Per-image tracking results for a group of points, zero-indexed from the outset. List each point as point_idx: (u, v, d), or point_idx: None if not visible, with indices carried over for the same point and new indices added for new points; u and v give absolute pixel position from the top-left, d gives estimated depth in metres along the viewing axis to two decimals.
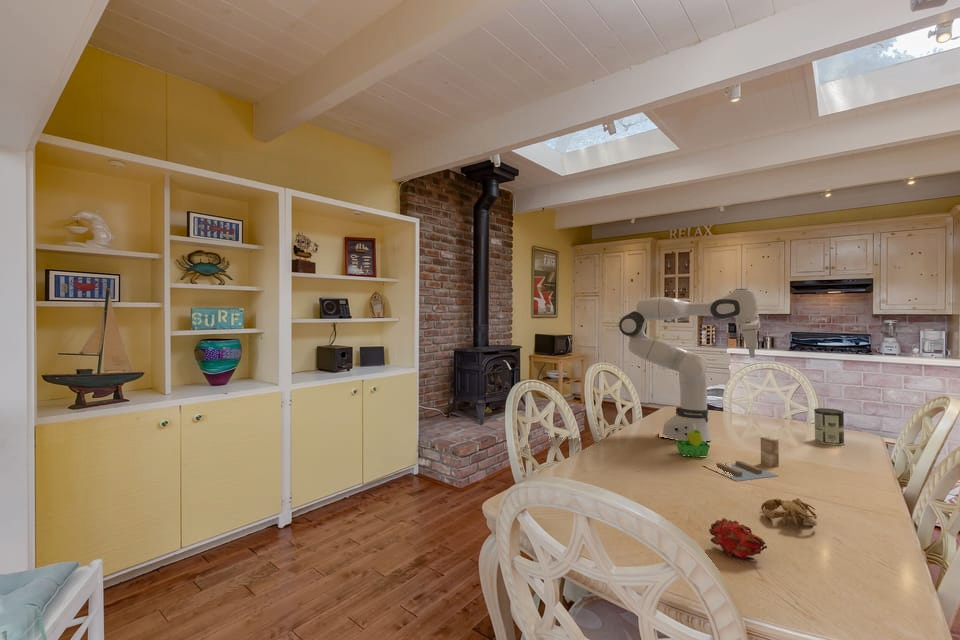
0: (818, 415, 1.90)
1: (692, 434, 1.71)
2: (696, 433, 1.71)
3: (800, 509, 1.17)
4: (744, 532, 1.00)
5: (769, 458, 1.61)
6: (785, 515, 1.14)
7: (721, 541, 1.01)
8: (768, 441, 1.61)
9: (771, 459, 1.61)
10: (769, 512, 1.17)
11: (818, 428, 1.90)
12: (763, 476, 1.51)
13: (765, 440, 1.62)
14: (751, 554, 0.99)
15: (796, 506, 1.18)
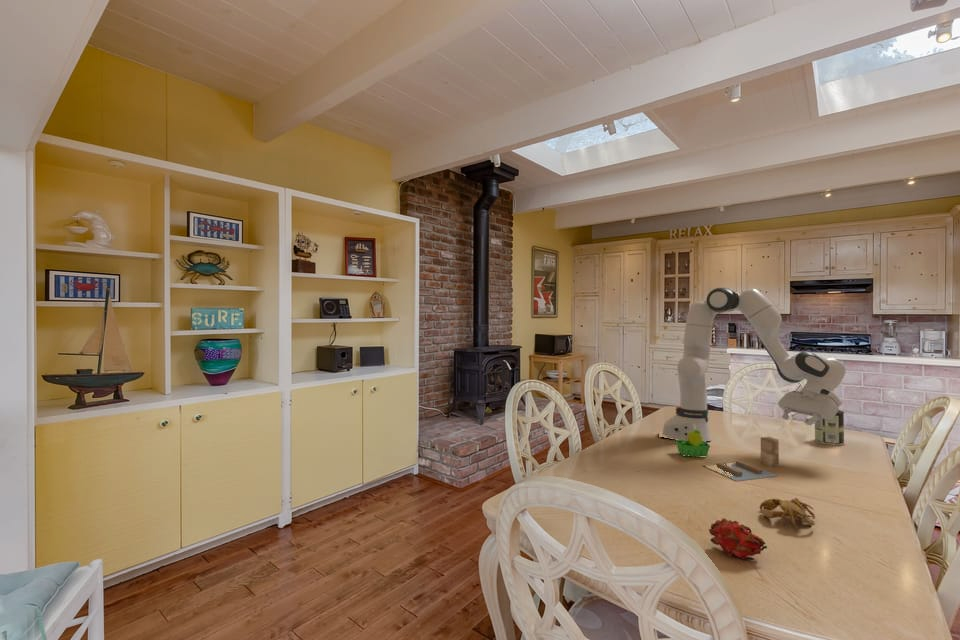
0: None
1: (692, 434, 1.71)
2: (696, 433, 1.71)
3: (798, 509, 1.17)
4: (744, 532, 1.00)
5: (769, 458, 1.61)
6: (783, 515, 1.14)
7: (721, 541, 1.01)
8: (768, 441, 1.61)
9: (771, 459, 1.61)
10: (767, 512, 1.18)
11: (818, 428, 1.90)
12: (763, 476, 1.51)
13: (765, 440, 1.62)
14: (751, 554, 0.99)
15: (794, 506, 1.18)
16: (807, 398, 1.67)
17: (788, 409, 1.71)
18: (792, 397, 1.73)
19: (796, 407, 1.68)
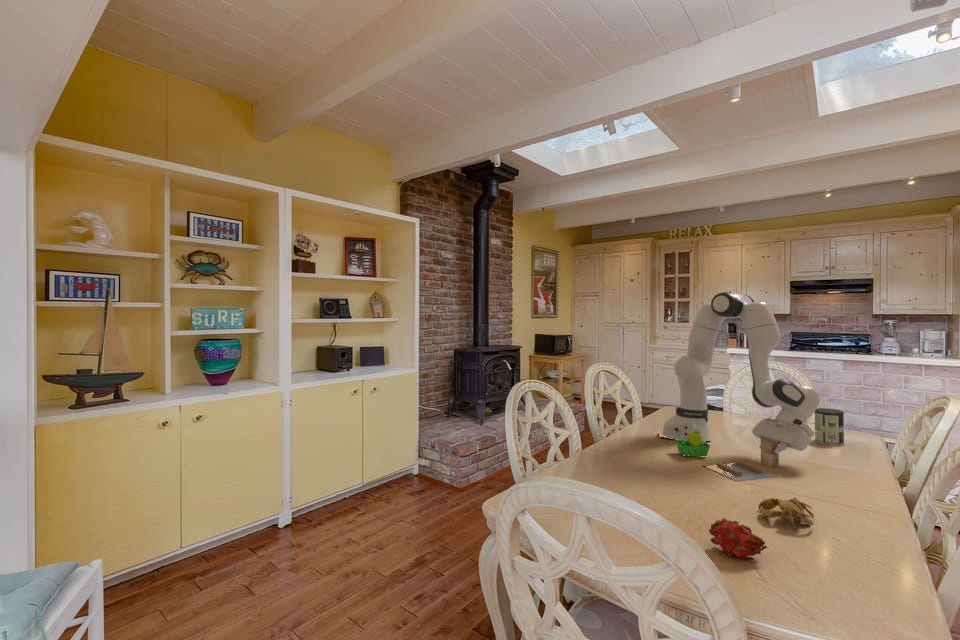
0: (818, 415, 1.90)
1: (692, 434, 1.71)
2: (696, 433, 1.71)
3: (797, 508, 1.17)
4: (744, 532, 1.00)
5: (769, 458, 1.61)
6: (782, 514, 1.14)
7: (721, 541, 1.01)
8: (768, 441, 1.61)
9: (771, 459, 1.61)
10: (766, 511, 1.18)
11: (818, 428, 1.90)
12: (763, 476, 1.51)
13: (765, 440, 1.62)
14: (751, 554, 0.99)
15: (793, 505, 1.18)
16: (780, 427, 1.64)
17: None
18: (766, 425, 1.70)
19: (769, 436, 1.65)
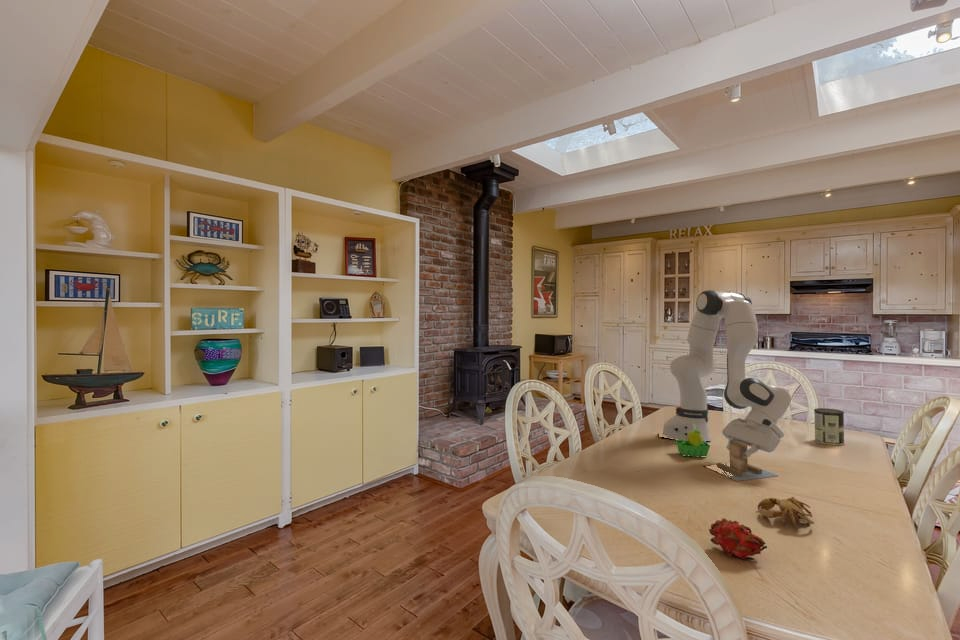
0: (818, 415, 1.90)
1: (692, 434, 1.71)
2: (696, 433, 1.71)
3: (797, 508, 1.18)
4: (744, 532, 1.00)
5: (737, 463, 1.55)
6: (784, 514, 1.14)
7: (721, 541, 1.01)
8: (736, 446, 1.55)
9: (739, 465, 1.55)
10: (767, 512, 1.18)
11: (818, 428, 1.90)
12: (763, 476, 1.51)
13: (734, 445, 1.56)
14: (751, 554, 0.99)
15: (793, 505, 1.18)
16: (750, 428, 1.58)
17: (733, 439, 1.62)
18: (736, 426, 1.64)
19: (738, 437, 1.59)
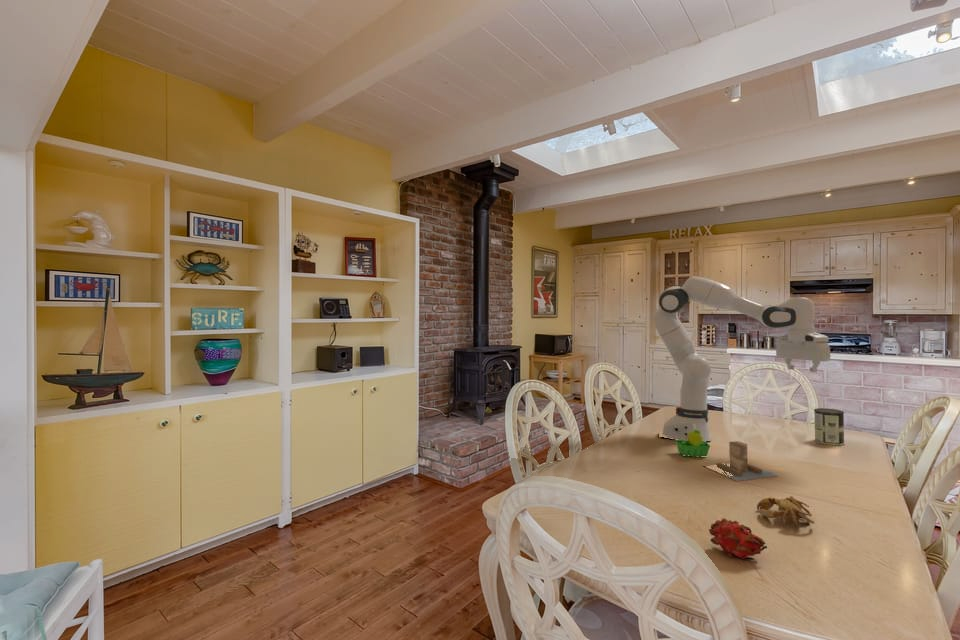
0: (818, 415, 1.90)
1: (692, 434, 1.71)
2: (696, 433, 1.71)
3: (796, 507, 1.18)
4: (744, 532, 1.00)
5: (737, 463, 1.55)
6: (785, 515, 1.14)
7: (721, 541, 1.01)
8: (736, 446, 1.55)
9: (739, 465, 1.55)
10: (768, 512, 1.17)
11: (818, 428, 1.90)
12: (763, 476, 1.51)
13: (734, 445, 1.56)
14: (751, 554, 0.99)
15: (792, 504, 1.19)
16: (798, 345, 1.73)
17: (788, 359, 1.78)
18: (785, 346, 1.79)
19: (794, 358, 1.75)
